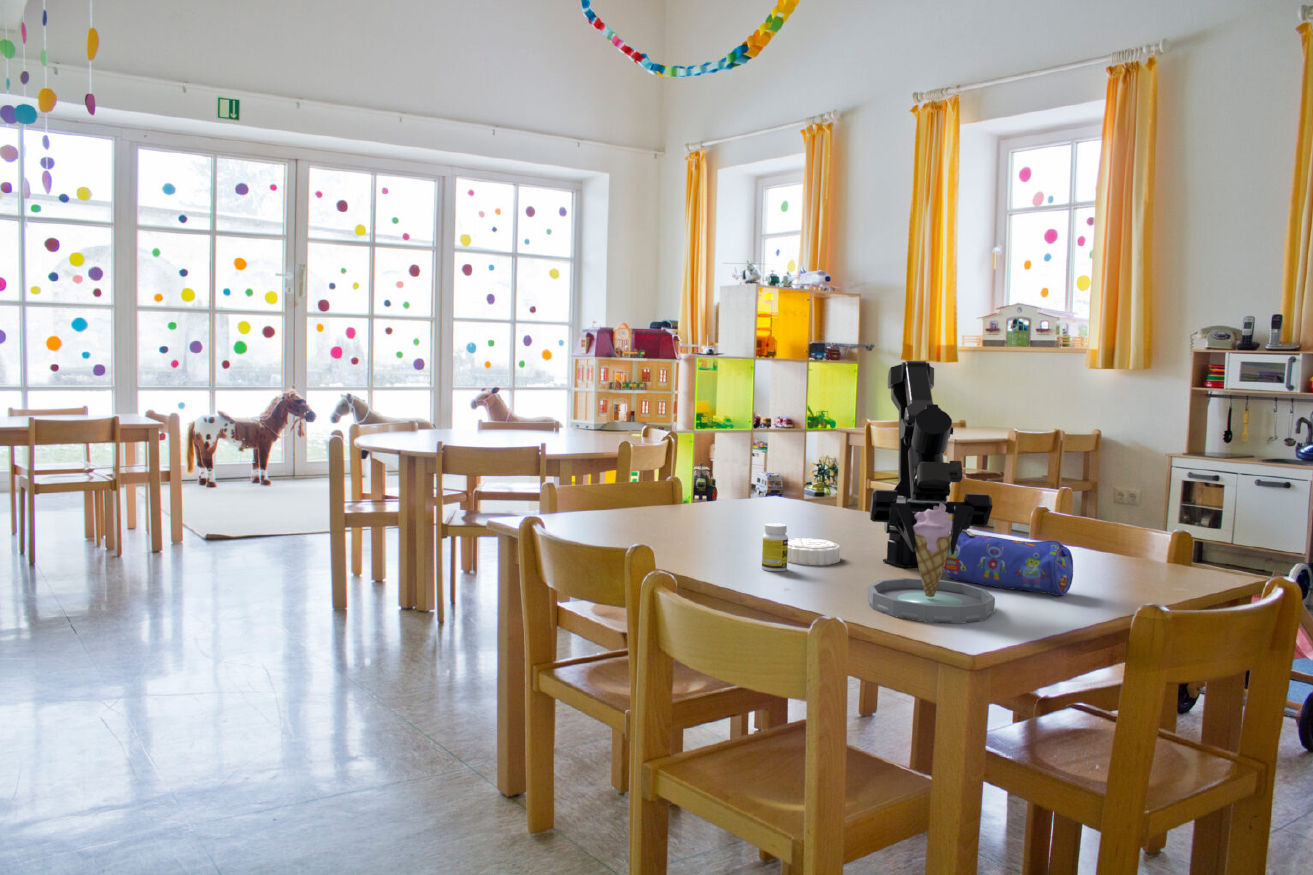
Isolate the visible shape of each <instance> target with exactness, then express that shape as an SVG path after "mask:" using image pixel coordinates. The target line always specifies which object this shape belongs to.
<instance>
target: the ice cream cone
mask: <svg viewBox="0 0 1313 875" xmlns="http://www.w3.org/2000/svg"><path fill="white" fill-rule="evenodd" d="M945 510H946V506H945V505H944V504H942V503H940V504H939V507H938V506H934V507H933V510H931V509H927V510H926V511H925V512H918V513H917V514H915V515H914V517H915V519H916V520H917V523H916V524H915V525H914V526H913V530H914V537H915V551H916V556H917V561H918V566H917V567H918V569H919V574H920V579H922V583H923V587H924V591H925V596H927V597H934V596H935V593H936V590H937V587H938V584H939V581H940V580H941V578H942V575H943V572H944V566H945V562H946V559H947V555H948V552H949V547H950V543H951V538H952V535H951V534H950V531H951V529H952V519H951V518H950V516H949V515H947V514H948V513H947V512H945Z"/></svg>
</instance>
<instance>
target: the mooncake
mask: <svg viewBox="0 0 1313 875" xmlns="http://www.w3.org/2000/svg"><path fill="white" fill-rule="evenodd" d="M787 554H788V555H787V563H792V564H798V565H805V566H807V565H809V566H816V565H818V566H825V565H828V566H829V565H833V564H837V563H840V561H841V560H840V559H841V558H840V557H841V545H839V544H837V543H835V542H833V541H832V540H827V539H824V538H823V539H822V538H821V539H820V538H819V539H818V538H817V539H816V538H809V537H803V538H802V537H801V538H800V537H796V538H790V539H789V538H788V553H787Z"/></svg>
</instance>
